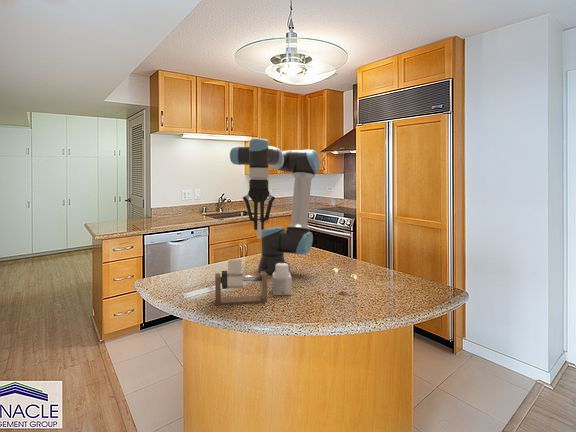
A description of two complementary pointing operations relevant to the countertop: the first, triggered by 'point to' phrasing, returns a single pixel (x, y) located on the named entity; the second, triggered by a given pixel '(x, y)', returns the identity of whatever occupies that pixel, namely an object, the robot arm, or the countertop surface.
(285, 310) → the countertop surface
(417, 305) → the countertop surface
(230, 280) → the stepped block with cap
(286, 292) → the container
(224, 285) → the dark grey block
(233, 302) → the rod stand
